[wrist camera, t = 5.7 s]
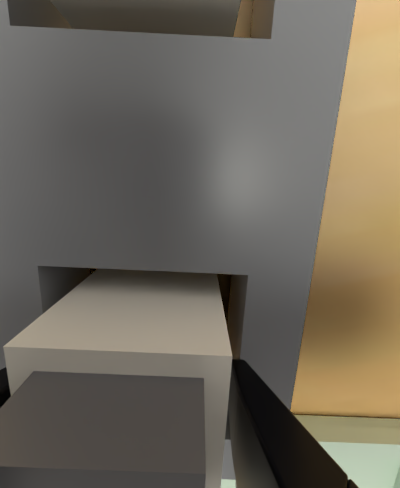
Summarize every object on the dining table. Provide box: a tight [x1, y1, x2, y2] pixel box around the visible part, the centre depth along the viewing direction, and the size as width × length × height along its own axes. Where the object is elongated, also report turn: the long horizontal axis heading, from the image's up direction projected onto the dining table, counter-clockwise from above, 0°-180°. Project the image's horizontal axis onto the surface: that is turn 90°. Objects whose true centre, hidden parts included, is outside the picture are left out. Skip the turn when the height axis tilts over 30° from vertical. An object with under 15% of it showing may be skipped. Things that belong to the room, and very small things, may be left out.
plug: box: [0, 268, 232, 488], centre depth 7 cm, size 4×4×6 cm
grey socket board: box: [0, 0, 356, 488], centre depth 7 cm, size 9×20×3 cm, turn 177°
